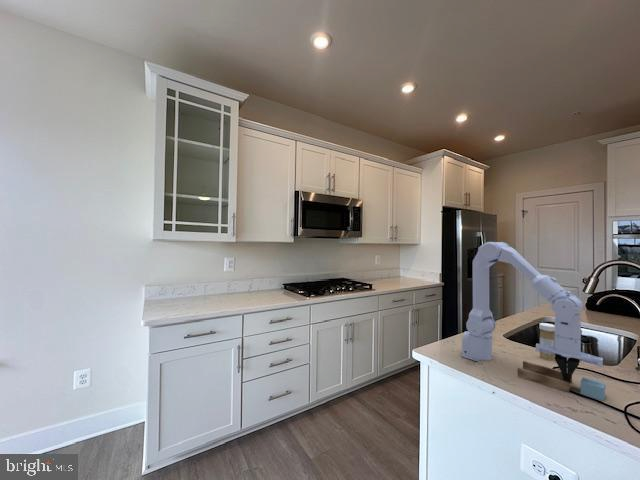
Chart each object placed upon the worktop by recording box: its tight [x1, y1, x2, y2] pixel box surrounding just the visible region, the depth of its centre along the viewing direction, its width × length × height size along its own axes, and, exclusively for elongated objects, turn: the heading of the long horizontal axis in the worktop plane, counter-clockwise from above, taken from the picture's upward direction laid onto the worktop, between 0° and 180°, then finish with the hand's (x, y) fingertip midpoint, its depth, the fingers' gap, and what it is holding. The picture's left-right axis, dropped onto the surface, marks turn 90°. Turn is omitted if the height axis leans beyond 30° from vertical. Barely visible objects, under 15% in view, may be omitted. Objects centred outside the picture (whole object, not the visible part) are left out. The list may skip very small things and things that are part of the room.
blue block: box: [580, 376, 606, 402], centre depth 76 cm, size 4×4×4 cm
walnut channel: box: [517, 360, 573, 394], centre depth 84 cm, size 12×8×4 cm
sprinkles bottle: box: [538, 322, 556, 362], centre depth 100 cm, size 5×5×14 cm
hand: (567, 381), depth 80 cm, fingers closed
